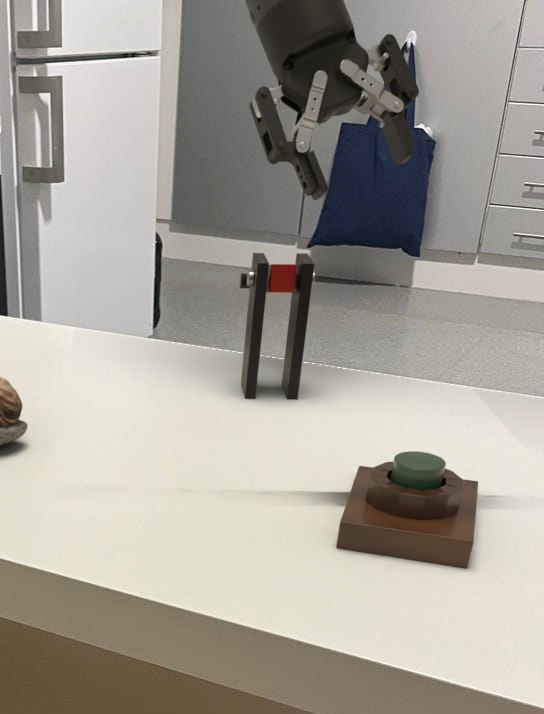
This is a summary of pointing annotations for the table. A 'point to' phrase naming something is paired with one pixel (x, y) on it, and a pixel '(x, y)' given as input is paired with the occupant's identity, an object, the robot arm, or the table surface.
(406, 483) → the button
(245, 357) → the bracket
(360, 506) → the button block
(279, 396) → the table surface
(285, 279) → the lever
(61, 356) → the table surface
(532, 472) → the table surface
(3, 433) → the bison figurine
